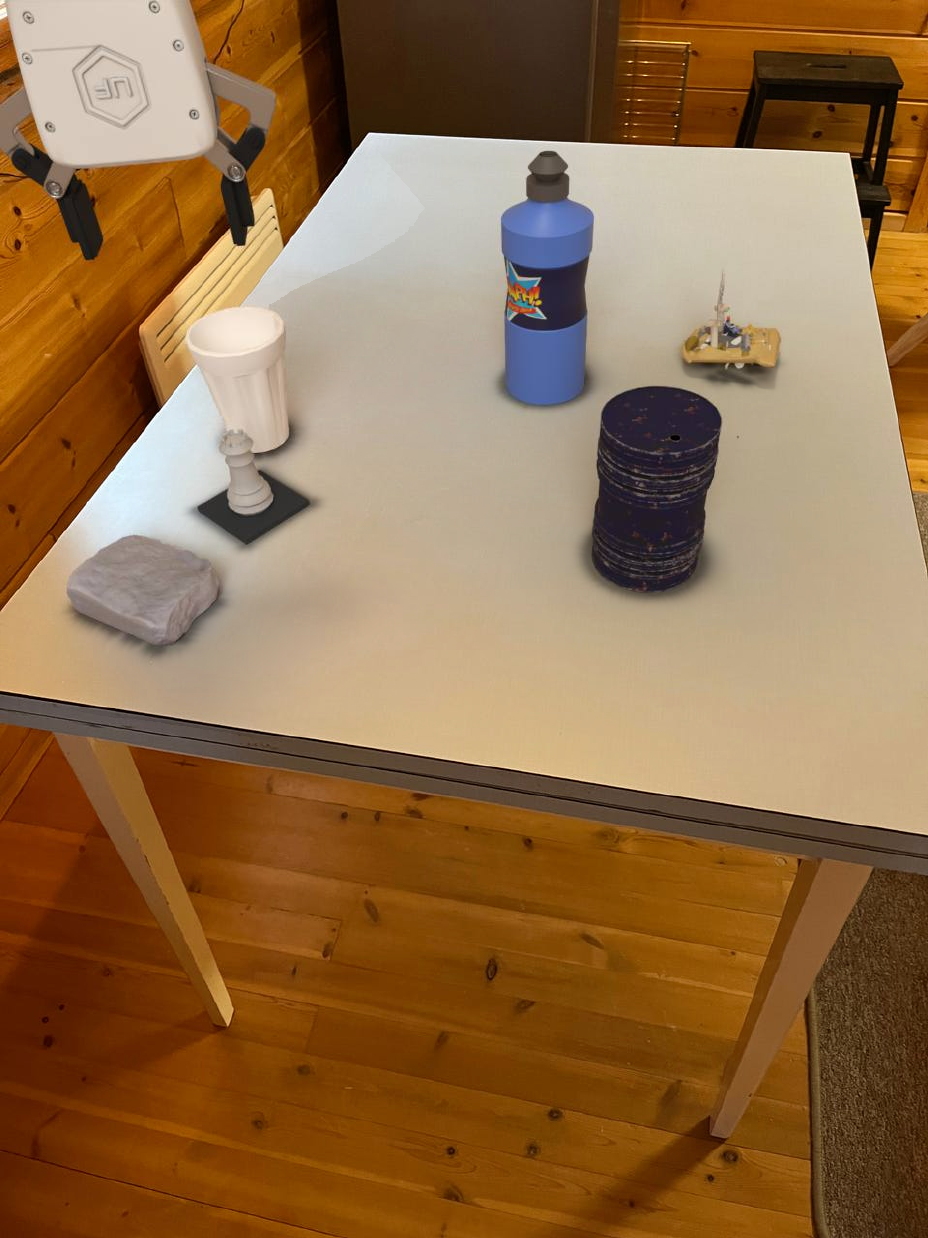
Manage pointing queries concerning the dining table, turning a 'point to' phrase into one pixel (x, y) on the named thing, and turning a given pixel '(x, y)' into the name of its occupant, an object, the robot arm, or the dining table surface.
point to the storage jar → (653, 486)
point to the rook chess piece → (244, 475)
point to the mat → (257, 524)
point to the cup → (245, 370)
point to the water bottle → (546, 286)
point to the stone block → (144, 588)
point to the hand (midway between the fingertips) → (168, 244)
